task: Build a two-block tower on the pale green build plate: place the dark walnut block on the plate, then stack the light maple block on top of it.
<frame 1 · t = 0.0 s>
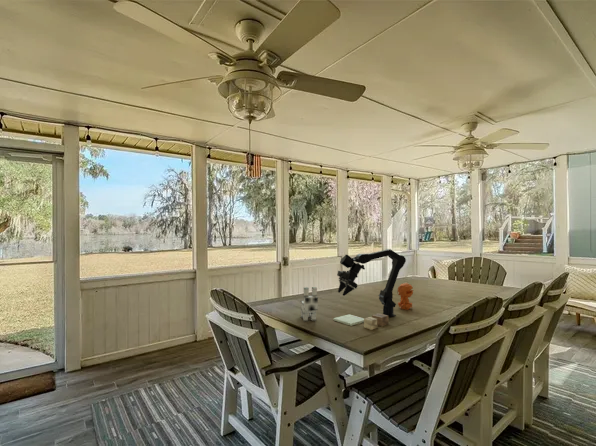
hand: (340, 293, 192), 15 cm above the table, tool tilted 35°, fingers open, 9 cm apart
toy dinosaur: (405, 308, 214), on the table
toy rabbit: (308, 319, 189), on the table
maple block: (370, 327, 173), on the table
build plate: (350, 320, 186), on the table
walnut block: (380, 324, 180), on the table
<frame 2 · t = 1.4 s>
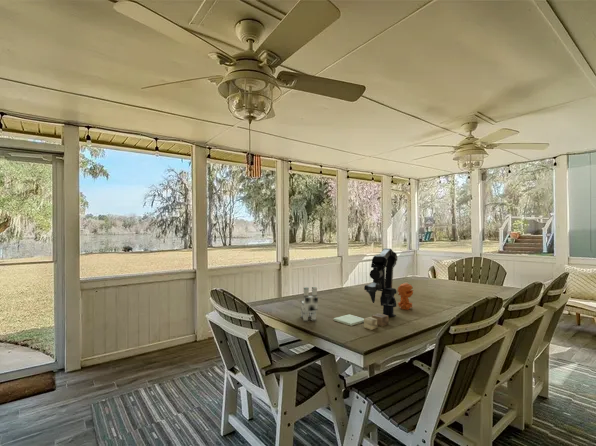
hand: (380, 304, 180), 11 cm above the table, tool pointing down, fingers open, 9 cm apart
nothing on the table moved.
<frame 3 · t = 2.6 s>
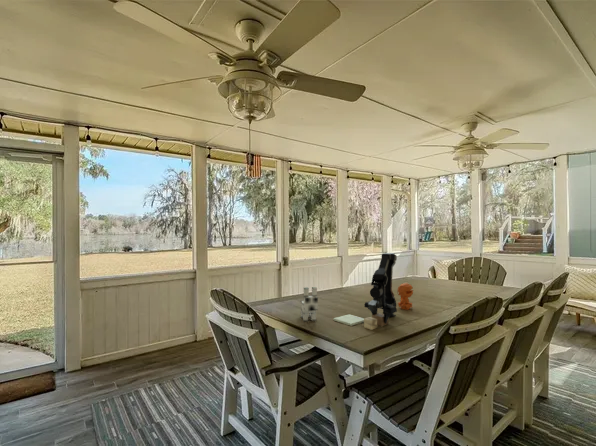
hand: (380, 321, 180), 1 cm above the table, tool pointing down, fingers closed on walnut block, 6 cm apart
walnut block: (380, 323, 180), on the table, touching gripper
everything else where it was.
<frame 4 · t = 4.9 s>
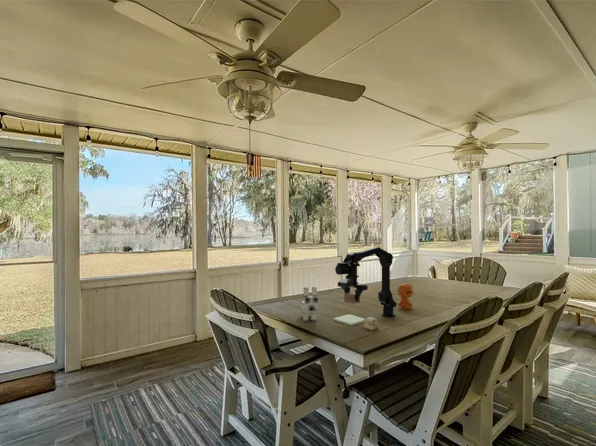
hand: (352, 300, 186), 12 cm above the table, tool pointing down, fingers closed on walnut block, 6 cm apart
walnut block: (352, 302, 185), point 11 cm above the table, touching gripper
everything else where it was.
when the fingers open (3 cm above the table, at t = 7.2 s): walnut block drops 1 cm, resting on build plate.
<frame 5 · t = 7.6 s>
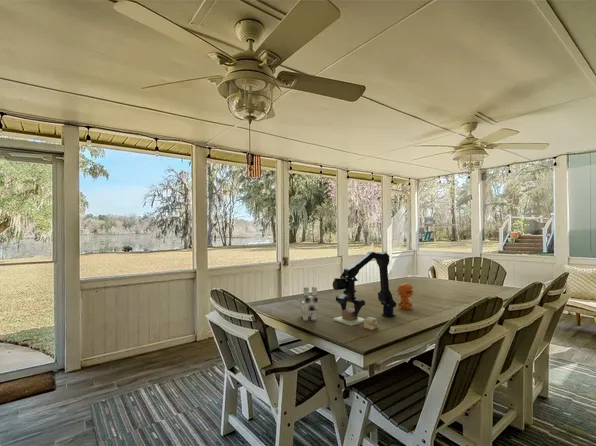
hand: (350, 315, 186), 3 cm above the table, tool pointing down, fingers open, 9 cm apart
walnut block: (350, 318, 186), point 1 cm above the table, touching build plate
everything else where it was.
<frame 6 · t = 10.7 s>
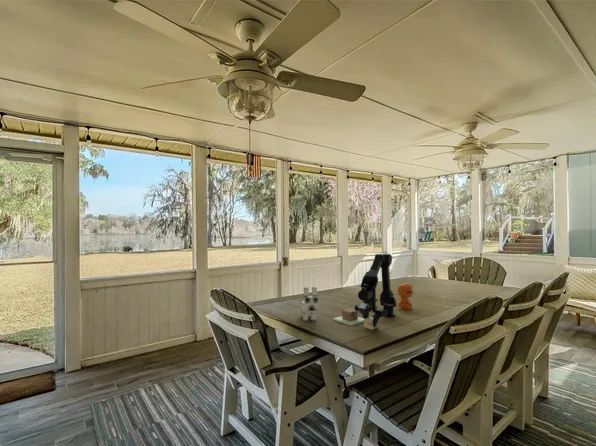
hand: (370, 325, 173), 1 cm above the table, tool pointing down, fingers closed on maple block, 5 cm apart
maple block: (370, 327, 173), on the table, touching gripper
everything else where it was.
when the fingers open (8 cm above the table, at t = 14.4 s): maple block drops 1 cm, resting on walnut block.
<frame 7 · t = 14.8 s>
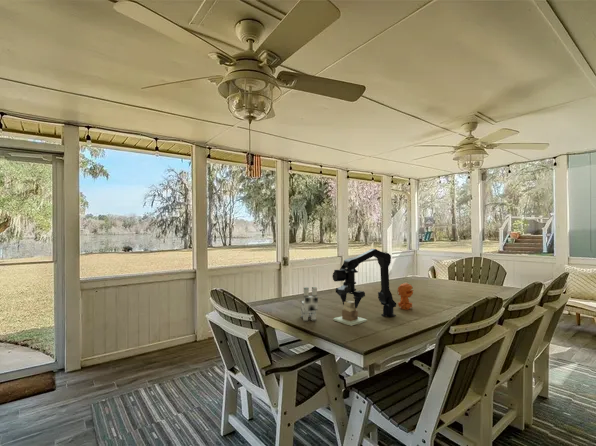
hand: (350, 306, 186), 8 cm above the table, tool pointing down, fingers open, 9 cm apart
maple block: (349, 310, 186), point 6 cm above the table, touching walnut block
walnut block: (350, 318, 186), point 1 cm above the table, touching build plate, maple block
everything else where it was.
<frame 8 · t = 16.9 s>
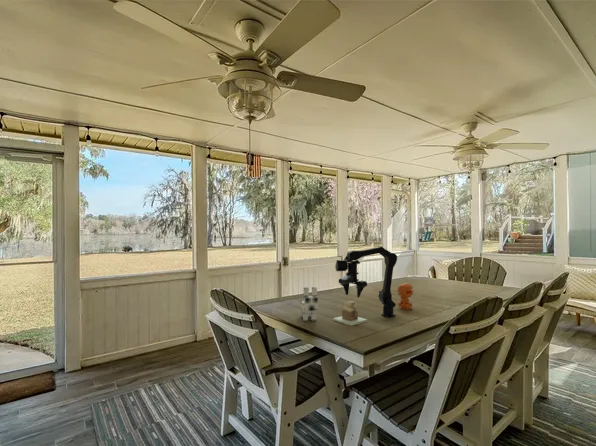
hand: (352, 296, 194), 13 cm above the table, tool pointing down, fingers open, 9 cm apart
nothing on the table moved.
at the end: walnut block inside the target area on the build plate (0.1 cm from its centre), point 1.2 cm above the build plate's base; maple block 0.0 cm off-centre on the walnut block, point 5.0 cm above the walnut block's base; maple block tilted 0° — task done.
